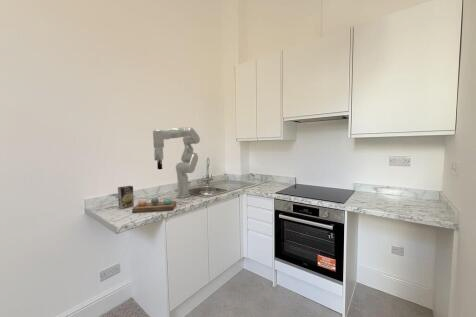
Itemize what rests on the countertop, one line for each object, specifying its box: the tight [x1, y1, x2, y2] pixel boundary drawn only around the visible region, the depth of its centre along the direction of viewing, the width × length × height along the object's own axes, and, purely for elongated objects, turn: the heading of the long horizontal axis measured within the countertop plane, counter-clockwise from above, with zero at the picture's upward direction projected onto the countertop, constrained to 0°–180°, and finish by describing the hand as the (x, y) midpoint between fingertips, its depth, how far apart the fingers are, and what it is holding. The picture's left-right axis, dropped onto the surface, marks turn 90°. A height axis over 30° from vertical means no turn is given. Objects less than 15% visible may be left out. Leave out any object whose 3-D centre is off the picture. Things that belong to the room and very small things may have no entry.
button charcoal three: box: [150, 197, 159, 204], centre depth 156 cm, size 5×5×3 cm
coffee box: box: [117, 185, 135, 210], centre depth 162 cm, size 9×6×16 cm
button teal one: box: [163, 198, 172, 205], centre depth 157 cm, size 5×5×3 cm
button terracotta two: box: [138, 199, 147, 206], centre depth 155 cm, size 5×5×3 cm
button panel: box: [131, 200, 177, 214], centre depth 156 cm, size 14×28×3 cm, turn 98°
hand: (159, 169), depth 163 cm, fingers closed
